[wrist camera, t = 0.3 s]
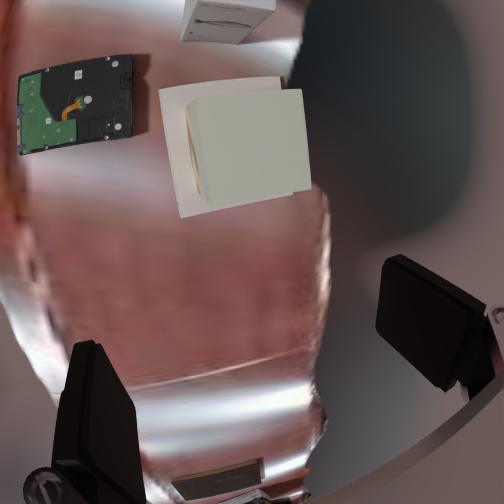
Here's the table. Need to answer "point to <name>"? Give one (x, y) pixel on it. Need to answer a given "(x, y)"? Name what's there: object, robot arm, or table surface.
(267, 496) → the tea box
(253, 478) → the hardcover book
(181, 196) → the base board
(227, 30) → the supplement box
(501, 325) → the robot arm
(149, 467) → the table surface
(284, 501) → the letter holder
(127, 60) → the disk drive
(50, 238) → the table surface
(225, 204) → the upper block
